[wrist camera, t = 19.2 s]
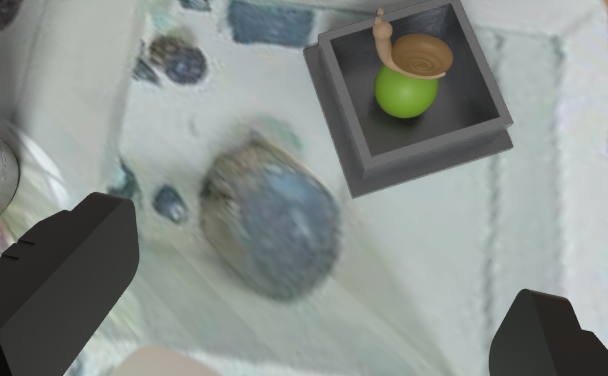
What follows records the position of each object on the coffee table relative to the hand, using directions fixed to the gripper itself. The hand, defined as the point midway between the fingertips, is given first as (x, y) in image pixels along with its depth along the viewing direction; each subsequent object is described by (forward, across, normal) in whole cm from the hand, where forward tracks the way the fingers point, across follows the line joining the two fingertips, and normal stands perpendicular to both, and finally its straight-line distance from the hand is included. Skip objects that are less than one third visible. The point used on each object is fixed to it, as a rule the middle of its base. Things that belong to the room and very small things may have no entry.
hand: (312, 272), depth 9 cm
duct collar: (+34, -4, +9) cm, 36 cm away
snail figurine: (+34, -3, +9) cm, 35 cm away
